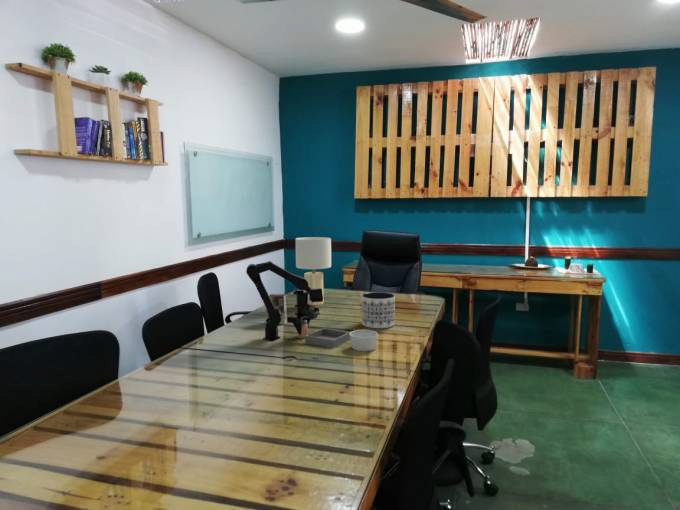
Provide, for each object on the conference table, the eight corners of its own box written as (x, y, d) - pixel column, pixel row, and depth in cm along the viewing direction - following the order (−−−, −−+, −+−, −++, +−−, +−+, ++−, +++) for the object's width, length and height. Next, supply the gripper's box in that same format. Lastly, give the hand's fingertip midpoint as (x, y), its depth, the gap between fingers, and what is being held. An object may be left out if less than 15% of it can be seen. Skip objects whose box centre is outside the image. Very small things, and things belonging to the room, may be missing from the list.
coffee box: (287, 321, 268) (286, 293, 266) (284, 324, 261) (284, 296, 259) (271, 321, 268) (270, 293, 267) (268, 324, 262) (267, 295, 260)
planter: (394, 320, 268) (394, 292, 266) (394, 329, 250) (395, 298, 248) (362, 320, 270) (362, 292, 268) (360, 328, 252) (360, 298, 250)
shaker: (304, 338, 234) (303, 322, 233) (295, 337, 236) (295, 321, 235) (309, 336, 238) (309, 320, 237) (301, 335, 240) (301, 318, 240)
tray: (333, 348, 219) (333, 340, 218) (305, 343, 227) (305, 335, 226) (350, 339, 232) (350, 332, 232) (323, 334, 240) (322, 328, 240)
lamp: (291, 304, 311) (290, 238, 306) (323, 301, 321) (322, 236, 316) (303, 311, 291) (302, 240, 286) (337, 308, 300) (336, 239, 295)
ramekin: (375, 353, 211) (375, 338, 210) (347, 351, 214) (347, 336, 213) (379, 344, 224) (379, 330, 223) (352, 343, 227) (352, 329, 226)
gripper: (305, 308, 223) (305, 340, 225) (325, 300, 239) (326, 330, 241) (286, 305, 229) (286, 336, 230) (307, 298, 245) (308, 327, 246)
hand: (302, 333), depth 237 cm, fingers closed on shaker, 5 cm apart
